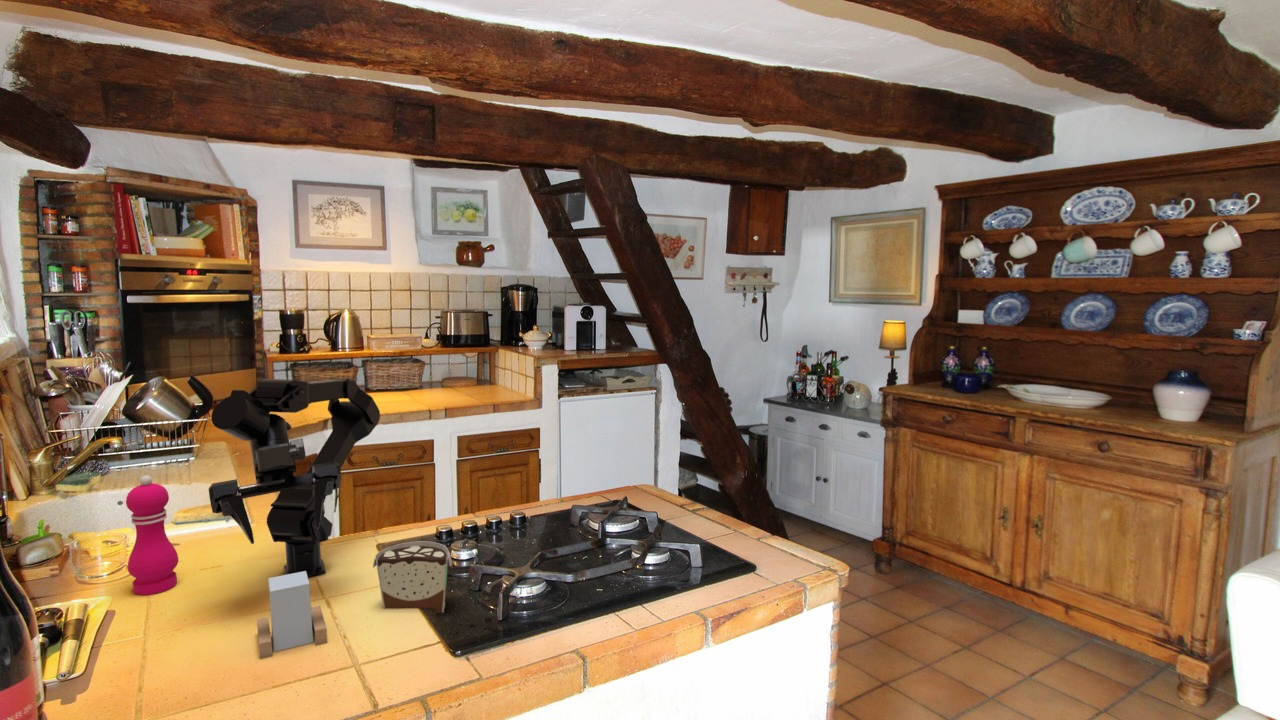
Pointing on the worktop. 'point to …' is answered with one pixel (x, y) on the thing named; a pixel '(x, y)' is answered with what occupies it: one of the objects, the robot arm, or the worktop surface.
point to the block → (290, 610)
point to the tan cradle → (265, 637)
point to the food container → (413, 575)
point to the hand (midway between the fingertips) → (285, 535)
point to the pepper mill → (150, 540)
